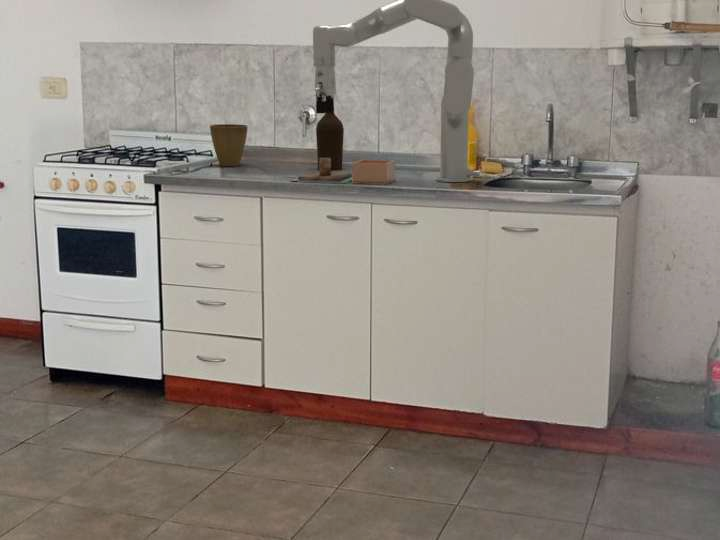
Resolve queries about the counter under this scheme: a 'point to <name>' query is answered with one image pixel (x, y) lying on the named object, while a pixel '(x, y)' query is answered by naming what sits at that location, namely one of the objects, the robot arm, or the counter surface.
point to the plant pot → (229, 142)
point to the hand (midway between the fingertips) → (325, 112)
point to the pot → (374, 171)
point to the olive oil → (330, 140)
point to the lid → (325, 173)
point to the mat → (326, 181)
